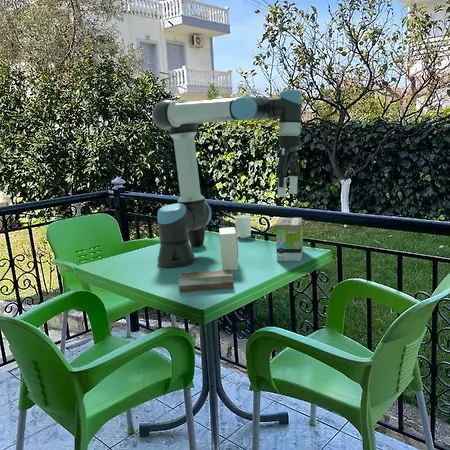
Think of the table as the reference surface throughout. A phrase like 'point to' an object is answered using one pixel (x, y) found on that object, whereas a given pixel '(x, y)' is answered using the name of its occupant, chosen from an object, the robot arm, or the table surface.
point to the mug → (197, 237)
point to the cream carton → (229, 248)
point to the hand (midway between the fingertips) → (287, 195)
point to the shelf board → (206, 280)
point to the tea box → (289, 239)
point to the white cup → (243, 225)
